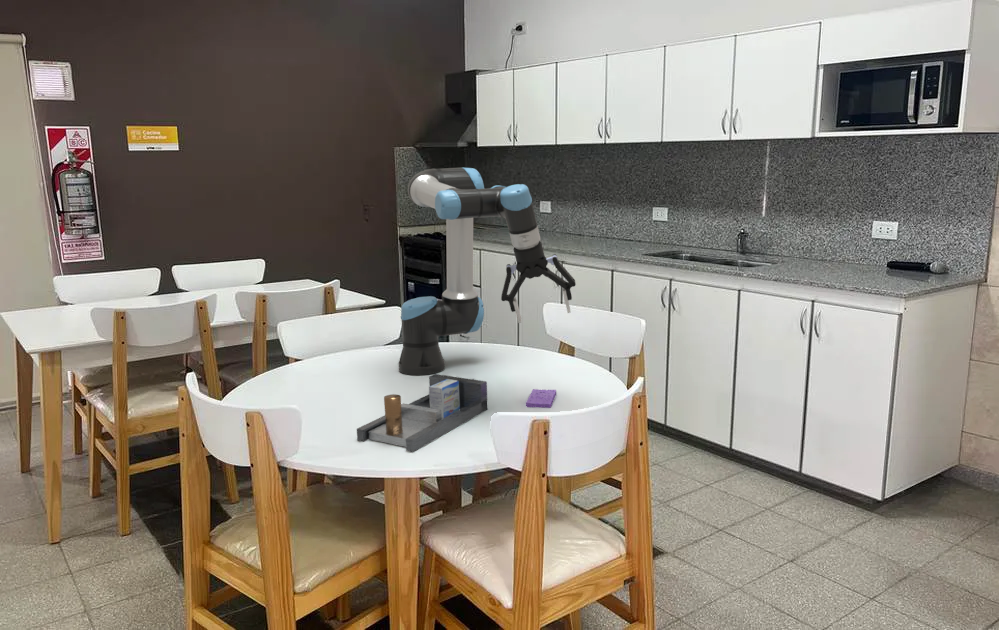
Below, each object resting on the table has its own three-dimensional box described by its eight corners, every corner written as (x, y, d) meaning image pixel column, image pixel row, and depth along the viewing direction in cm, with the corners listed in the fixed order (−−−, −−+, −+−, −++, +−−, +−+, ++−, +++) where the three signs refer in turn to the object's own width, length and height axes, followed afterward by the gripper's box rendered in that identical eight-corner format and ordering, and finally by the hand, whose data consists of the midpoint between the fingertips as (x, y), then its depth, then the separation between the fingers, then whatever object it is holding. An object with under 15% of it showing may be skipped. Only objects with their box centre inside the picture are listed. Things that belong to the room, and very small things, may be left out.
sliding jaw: (369, 439, 186) (366, 396, 184) (404, 421, 198) (402, 381, 196) (408, 447, 180) (406, 403, 178) (442, 428, 192) (440, 387, 190)
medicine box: (443, 419, 199) (442, 388, 198) (429, 417, 202) (428, 385, 200) (460, 411, 206) (459, 380, 204) (447, 408, 208) (445, 378, 206)
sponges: (556, 395, 218) (556, 389, 218) (550, 409, 206) (550, 403, 206) (532, 394, 220) (532, 388, 219) (525, 408, 208) (525, 402, 207)
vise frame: (357, 440, 186) (355, 409, 184) (436, 401, 215) (435, 373, 213) (413, 452, 178) (411, 419, 176) (487, 409, 206) (486, 381, 205)
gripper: (479, 259, 195) (499, 331, 204) (574, 238, 191) (590, 312, 200) (481, 249, 201) (500, 318, 210) (573, 229, 198) (588, 300, 207)
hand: (544, 315), depth 205 cm, fingers open, 13 cm apart
